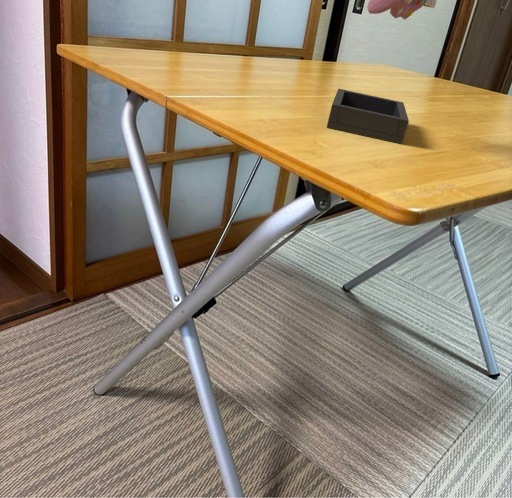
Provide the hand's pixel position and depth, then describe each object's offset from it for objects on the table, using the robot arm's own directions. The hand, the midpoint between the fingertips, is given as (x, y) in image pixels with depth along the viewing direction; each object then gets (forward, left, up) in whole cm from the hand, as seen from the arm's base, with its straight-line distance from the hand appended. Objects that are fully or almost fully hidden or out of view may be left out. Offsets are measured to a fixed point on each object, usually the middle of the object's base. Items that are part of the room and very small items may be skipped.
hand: (400, 1), depth 74 cm
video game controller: (0, 0, -2) cm, 2 cm away
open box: (0, -1, -18) cm, 18 cm away
